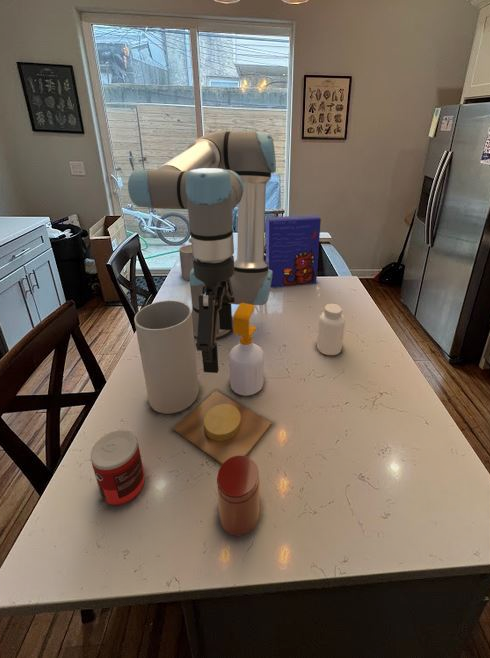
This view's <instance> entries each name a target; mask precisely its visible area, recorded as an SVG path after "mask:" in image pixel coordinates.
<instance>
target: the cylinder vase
mask: <svg viewBox="0 0 490 658" xmlns="http://www.w3.org/2000/svg"><path fill="white" fill-rule="evenodd" d="M136 313H137V314H136ZM136 313H135V316H134V319H133V321H134V327H135V332H136V337H137V344H138V349H139V354H140V360H141V365H142V370H143V376H144V382H145V388H146V393H147V399H148V404H149V406H150V407H151V408H152V409H153V411H156V412H157V413H160V414H166V415H167V414H168V415H169V414H176V413H179V412H181V411H184V410H186V409H188V408H189V407H190V406H191V405H192V404H193V403H194V402H195V401H196V399H198V395H199V392H200V385H199V376H198V366H197V357H196V356H197V355H196V354H197V353H196V343H195V337H194V334H193V324H192V314H191V313H192V308H191V306H190V305H189V304H187V303H185V302H183V301H180V300H173V299H172V300H171V299H170V300H169V299H167V300H159V301H156V302H152V303H150V304H147V305H146V306H144V307H142V308H140V310H138V311H136Z"/></svg>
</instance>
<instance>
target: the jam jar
mask: <svg viewBox="0 0 490 658" xmlns="http://www.w3.org/2000/svg"><path fill="white" fill-rule="evenodd" d="M216 485H217V497H218V509H219V521H220V524H221V527H222V528H223V530H224V532H226V533H228V534H229V535H231V536H233V537H241V536H244V535H247V534H248V533H250V532H252V531H253V529H254V528H255V526H256V525H257V523H258V521H259V517H260V477H259V468H258V465H257V464H256V462H255V461H254V460H253V459H252V458H250V457H249V456H234V457H231V458H229V459H228V460H226V461H225V462H224V463H223V464H222V465H220V467H219V469H218V471H217V476H216Z"/></svg>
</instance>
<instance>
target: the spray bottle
mask: <svg viewBox="0 0 490 658" xmlns="http://www.w3.org/2000/svg"><path fill="white" fill-rule="evenodd" d="M255 306H256V305H251V304H246V303H240V304H238V306H237V308H236V310H235V312H234V313H233V315H232V317H233V329H232V330H233V334H234V335H236V336H237V335H238V336H241V337H240V338H239V343H238V344H235V345H234V346H233V347H232V349H231V350H230V352H229V356H228V363H229V385H230V388H231V390H232V391H233V392H234V393H235V394H237V395H239V396H244V397H245V396H246V397H247V396H253V395H255V394H258V392H260V391H261V390H262V389H263V386H264V378H265V377H264V375H265V374H264V364H265V363H264V361H265V360H264V359H265V356H264V352H263V350H262V347H261V346H259V344H256V343H254V341H253V340H254V339H253V337H252V336H253V334H254V333H255V331H256V330H257V327H256V326H255V325H252V324H251V325H250V318H251V316H252V314H253V313H254V311H255V309H256V307H255Z"/></svg>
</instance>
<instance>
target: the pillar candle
mask: <svg viewBox="0 0 490 658" xmlns="http://www.w3.org/2000/svg"><path fill="white" fill-rule="evenodd" d="M178 252H179V261H180V271H181V272H180V273H181V278H182V279H183V280H184V281H189V282H190V272H191V270H192V269H193V258H194V256H193V254H192V244H186V245H182V246H180V247H179V250H178Z"/></svg>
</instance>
